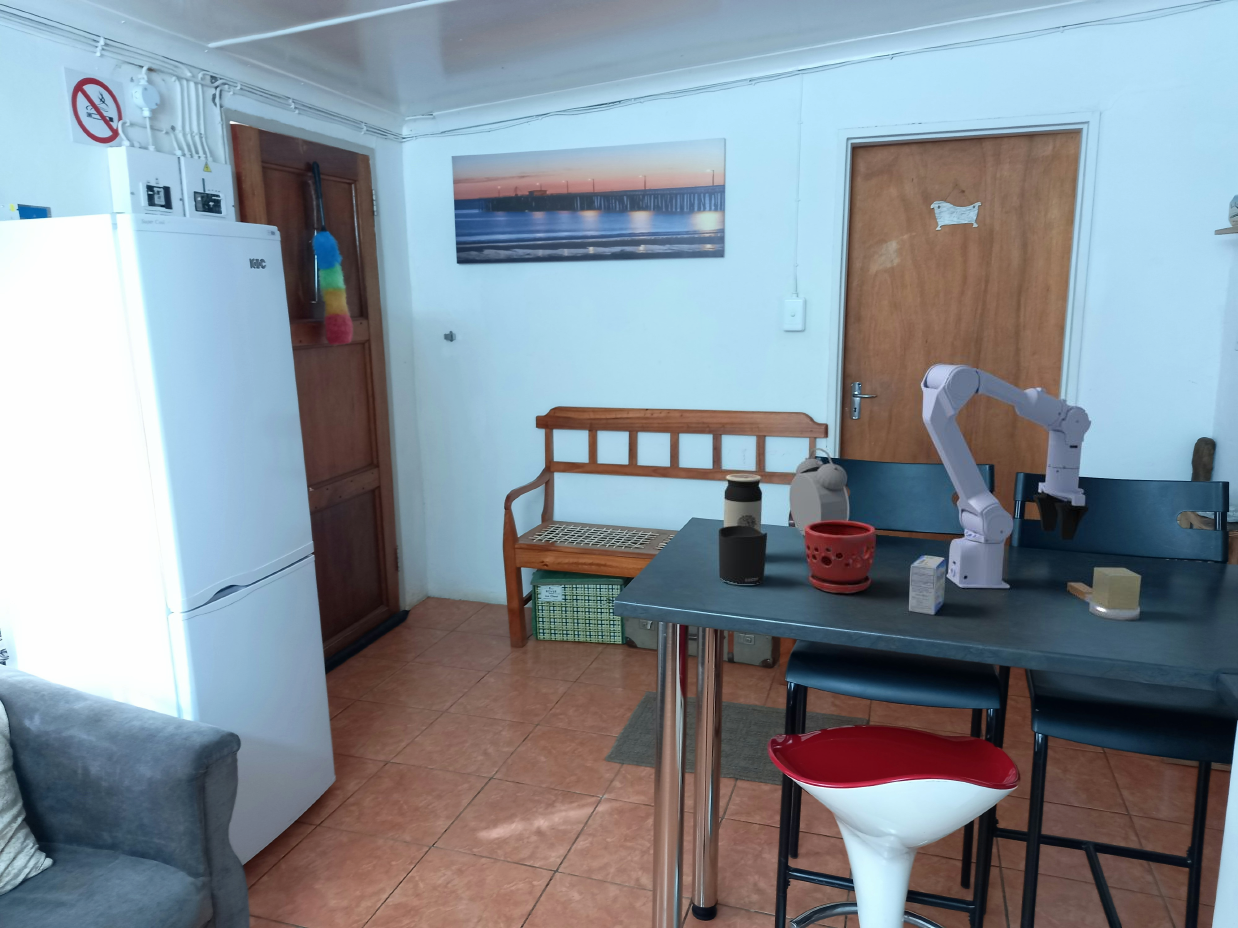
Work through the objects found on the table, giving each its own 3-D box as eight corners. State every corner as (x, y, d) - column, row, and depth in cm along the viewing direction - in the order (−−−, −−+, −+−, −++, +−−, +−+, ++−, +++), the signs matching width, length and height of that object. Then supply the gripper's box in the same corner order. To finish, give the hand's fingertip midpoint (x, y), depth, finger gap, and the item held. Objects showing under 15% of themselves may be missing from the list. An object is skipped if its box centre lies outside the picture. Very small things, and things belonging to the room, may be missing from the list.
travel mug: (723, 552, 190) (725, 473, 188) (759, 554, 189) (762, 474, 187) (722, 562, 183) (724, 479, 180) (760, 563, 181) (763, 480, 179)
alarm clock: (851, 546, 197) (856, 452, 193) (818, 549, 194) (822, 453, 191) (815, 531, 212) (819, 443, 209) (784, 533, 210) (787, 444, 207)
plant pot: (818, 574, 174) (820, 516, 172) (882, 585, 166) (885, 525, 164) (791, 589, 163) (794, 528, 161) (858, 601, 156) (862, 537, 154)
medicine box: (934, 616, 148) (937, 567, 147) (907, 611, 150) (910, 563, 149) (943, 604, 155) (946, 557, 153) (918, 600, 157) (921, 554, 156)
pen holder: (713, 584, 166) (714, 534, 165) (722, 572, 175) (723, 524, 173) (762, 589, 163) (763, 538, 162) (768, 576, 172) (770, 527, 171)
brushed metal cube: (1106, 609, 147) (1110, 575, 146) (1091, 600, 152) (1094, 567, 151) (1137, 609, 147) (1141, 575, 146) (1121, 600, 152) (1124, 567, 151)
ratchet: (1148, 621, 146) (1151, 595, 145) (1103, 620, 146) (1105, 594, 146) (1093, 590, 164) (1096, 567, 163) (1053, 589, 164) (1055, 566, 163)
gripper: (1103, 472, 159) (1097, 543, 161) (1065, 461, 173) (1060, 526, 175) (1065, 472, 159) (1059, 543, 161) (1030, 461, 174) (1025, 526, 176)
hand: (1057, 534), depth 168 cm, fingers open, 7 cm apart
